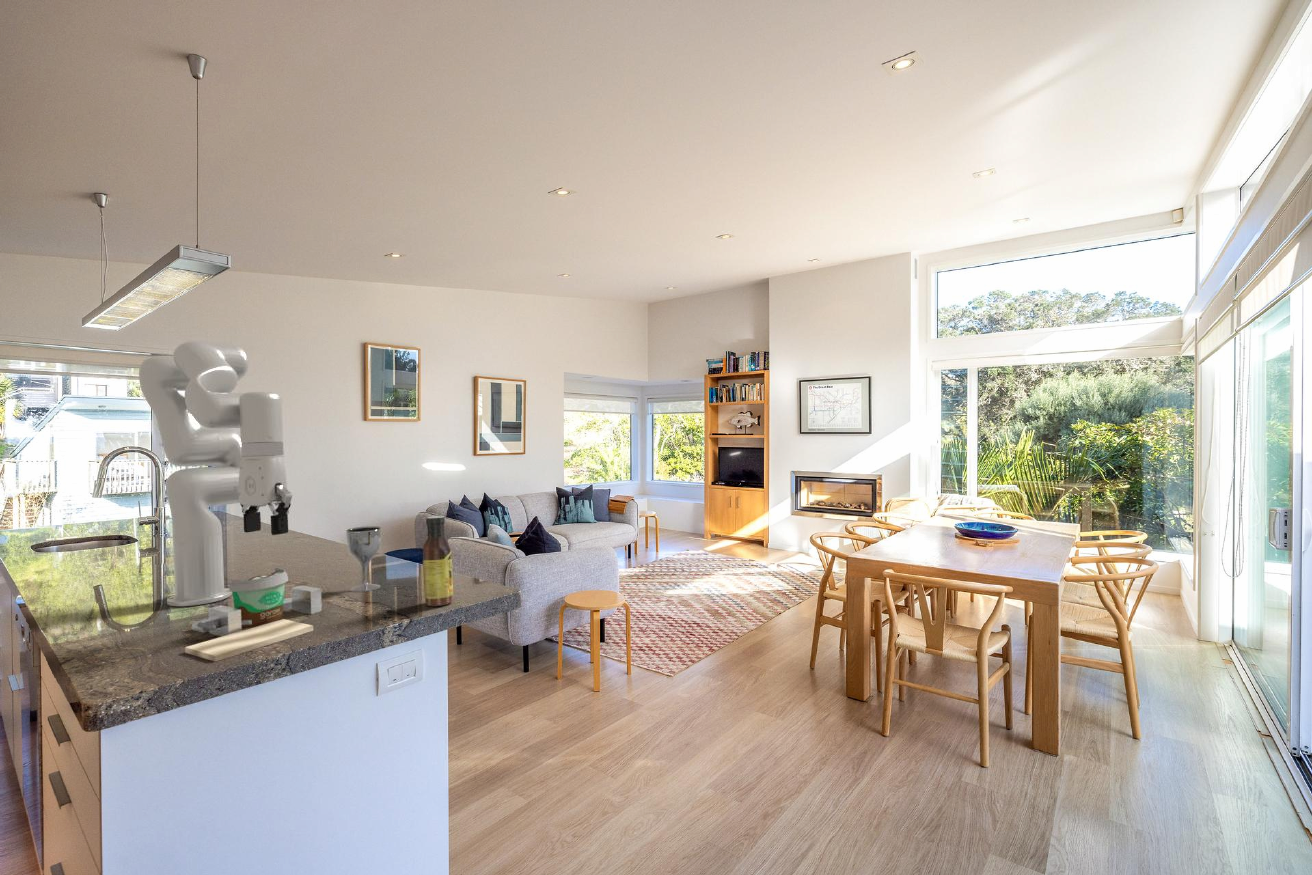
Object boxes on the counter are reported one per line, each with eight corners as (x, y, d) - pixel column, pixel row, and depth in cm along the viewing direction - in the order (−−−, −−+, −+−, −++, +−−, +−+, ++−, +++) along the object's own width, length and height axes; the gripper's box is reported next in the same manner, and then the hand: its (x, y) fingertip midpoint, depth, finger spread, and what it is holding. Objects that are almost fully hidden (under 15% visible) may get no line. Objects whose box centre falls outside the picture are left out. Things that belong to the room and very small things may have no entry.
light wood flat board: (185, 652, 114) (185, 647, 114) (283, 623, 130) (283, 618, 130) (215, 661, 110) (215, 655, 110) (313, 630, 126) (313, 625, 126)
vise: (180, 633, 126) (179, 608, 125) (289, 603, 145) (288, 582, 145) (214, 642, 120) (213, 616, 120) (323, 610, 139) (322, 588, 139)
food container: (256, 632, 125) (254, 582, 125) (230, 630, 127) (229, 581, 126) (303, 613, 137) (301, 568, 137) (279, 612, 139) (277, 567, 138)
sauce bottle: (456, 604, 142) (454, 517, 142) (428, 609, 139) (425, 519, 138) (448, 597, 148) (446, 513, 147) (421, 602, 144) (418, 516, 144)
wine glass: (341, 591, 155) (339, 531, 154) (361, 583, 163) (359, 526, 162) (370, 592, 154) (368, 531, 153) (389, 584, 161) (387, 526, 161)
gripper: (220, 452, 132) (223, 533, 132) (268, 451, 124) (272, 538, 124) (257, 450, 138) (260, 527, 139) (305, 450, 130) (308, 532, 131)
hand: (266, 532), depth 131 cm, fingers open, 9 cm apart
